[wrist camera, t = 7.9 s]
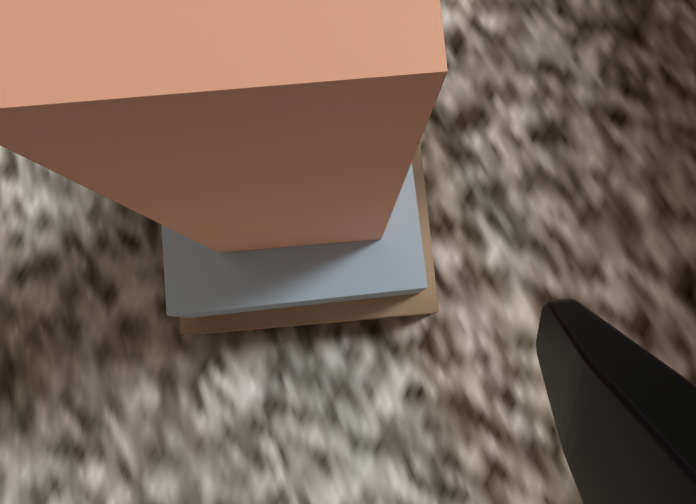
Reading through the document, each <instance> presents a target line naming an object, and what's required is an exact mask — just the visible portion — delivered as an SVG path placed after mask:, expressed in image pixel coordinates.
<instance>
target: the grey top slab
mask: <svg viewBox="0 0 696 504" xmlns="http://www.w3.org/2000/svg"><path fill="white" fill-rule="evenodd" d="M161 230H162V247H163V264H164V281H165V298H166V314H167V316H174V317H185V318H197V317H206V316H215V315H224V314H233V313H243V312H252V311H261V310H270V309H280V308H289V307H298V306H307V305H317V304H326V303H335V302H344V301H353V300H363V299H372V298H381V297H390V296H400V295H409V294H418V293H421V292H422V291H423V290H425V289H426V288H428V285H427V277H426V269H425V261H424V254H423V246H422V238H421V230H420V222H419V214H418V207H417V199H416V191H415V183H414V175H413V167H412V163H411V165H410V168H409V171H408V173H407V176H406V178H405V181H404V183H403V186H402V188H401V191H400V193H399V196H398V199H397V201H396V204H395V206H394V209H393V211H392V214H391V216H390V219H389V221H388V224H387V226H386V229H385V232H384V234H383V237H382V239H378V240H366V241H354V242H342V243H330V244H318V245H306V246H294V247H282V248H270V249H258V250H246V251H235V252H223V253H219V252H217V251H215V250H213V249H211V248H209V247H207V246H205V245H203V244H201V243H199V242H197V241H194V240H192V239H190V238H188V237H186V236H184V235H182V234H180V233H178V232H176V231H174V230H172V229H170V228H168V227H166V226H164V225H162V224H161Z"/></svg>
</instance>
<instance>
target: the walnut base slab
mask: <svg viewBox="0 0 696 504" xmlns="http://www.w3.org/2000/svg"><path fill="white" fill-rule="evenodd" d="M412 167H413V175H414V183H415V191H416V199H417V207H418V214H419V222H420V230H421V238H422V246H423V254H424V261H425V269H426V277H427V285H428V288H426V289H425V290H423V291H422V292H421V293H418V294H409V295H400V296H390V297H381V298H372V299H363V300H353V301H344V302H335V303H326V304H317V305H307V306H298V307H289V308H280V309H270V310H261V311H252V312H243V313H233V314H224V315H215V316H206V317H197V318H185V317H179V322H180V334H181V335H197V334H209V333H220V332H232V331H243V330H255V329H266V328H278V327H289V326H301V325H312V324H324V323H335V322H347V321H358V320H370V319H381V318H393V317H404V316H416V315H428V314H434V313H437V312H439V311H438V302H437V293H436V283H435V274H434V265H433V256H432V246H431V237H430V228H429V219H428V210H427V200H426V191H425V182H424V173H423V164H422V154H421V145H420V143H419V145H418V148H417V150H416V153H415V155H414V158H413V160H412Z"/></svg>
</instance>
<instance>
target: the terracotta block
mask: <svg viewBox="0 0 696 504" xmlns="http://www.w3.org/2000/svg"><path fill="white" fill-rule="evenodd" d="M446 74H447V61H446V52H445V43H444V34H443V25H442V16H441V6H440V0H0V145H1V146H3V147H5V148H7V149H9V150H11V151H13V152H15V153H17V154H19V155H21V156H23V157H25V158H27V159H29V160H31V161H33V162H35V163H37V164H39V165H41V166H43V167H45V168H48V169H50V170H52V171H54V172H56V173H58V174H60V175H62V176H64V177H66V178H68V179H70V180H72V181H74V182H76V183H78V184H80V185H82V186H84V187H86V188H88V189H90V190H92V191H94V192H96V193H99V194H101V195H103V196H105V197H107V198H109V199H111V200H113V201H115V202H117V203H119V204H121V205H123V206H125V207H127V208H129V209H131V210H133V211H135V212H137V213H139V214H141V215H143V216H145V217H148V218H150V219H152V220H154V221H156V222H158V223H160V224H162V225H164V226H166V227H168V228H170V229H172V230H174V231H176V232H178V233H180V234H182V235H184V236H186V237H188V238H190V239H192V240H194V241H197V242H199V243H201V244H203V245H205V246H207V247H209V248H211V249H213V250H215V251H217V252H219V253H223V252H235V251H246V250H258V249H270V248H282V247H294V246H306V245H318V244H330V243H342V242H354V241H366V240H378V239H382V237H383V234H384V232H385V229H386V226H387V224H388V221H389V219H390V216H391V214H392V211H393V209H394V206H395V204H396V201H397V199H398V196H399V193H400V191H401V188H402V186H403V183H404V181H405V178H406V176H407V173H408V171H409V168H410V165H411V163H412V160H413V158H414V155H415V153H416V150H417V148H418V145H419V143H420V140H421V138H422V135H423V132H424V130H425V127H426V125H427V122H428V120H429V117H430V115H431V112H432V110H433V107H434V104H435V102H436V99H437V97H438V94H439V92H440V89H441V87H442V84H443V82H444V79H445V77H446Z"/></svg>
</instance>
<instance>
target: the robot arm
mask: <svg viewBox="0 0 696 504" xmlns="http://www.w3.org/2000/svg"><path fill="white" fill-rule="evenodd" d="M536 349H537V356H538V360H539V363H540V367H541V371H542V375H543V379H544V382H545V386H546V390H547V394H548V397H549V401H550V405H551V409H552V412H553V416H554V420H555V424H556V428H557V431H558V435H559V438H560V442H561V445H562V449H563V452H564V454H565V457H566V460H567V463H568V465H569V468H570V471H571V473H572V476H573V478H574V481H575V483H576V486H577V488H578V491H579V493H580V496H581V499H582V501H583V504H696V386H695V385H694V384H692V383H691V382H690V381H688V380H687V379H685V378H684V377H683V376H681V375H680V374H678V373H677V372H676V371H674V370H673V369H671V368H670V367H669V366H667V365H666V364H664V363H663V362H662V361H660V360H659V359H657V358H656V357H655V356H653V355H652V354H650V353H649V352H648V351H646V350H645V349H643V348H642V347H641V346H639V345H638V344H636V343H635V342H634V341H632V340H631V339H630V338H628V337H627V336H625V335H624V334H623V333H621V332H620V331H618V330H617V329H616V328H614V327H613V326H611V325H610V324H609V323H607V322H606V321H604V320H603V319H602V318H600V317H599V316H597V315H596V314H595V313H593V312H592V311H590V310H589V309H588V308H586V307H585V306H583V305H582V304H581V303H579V302H578V301H576V300H574V299H558V300H549V301H546V302H545V303H544V305H543V307H542V312H541V317H540V323H539V328H538V334H537V340H536Z"/></svg>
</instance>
